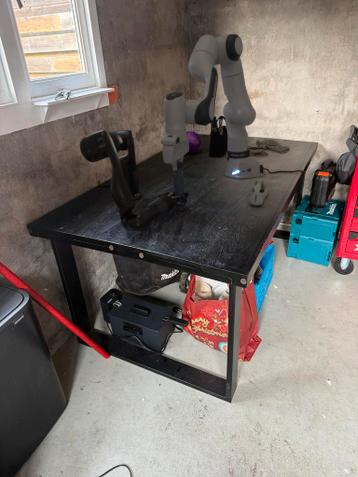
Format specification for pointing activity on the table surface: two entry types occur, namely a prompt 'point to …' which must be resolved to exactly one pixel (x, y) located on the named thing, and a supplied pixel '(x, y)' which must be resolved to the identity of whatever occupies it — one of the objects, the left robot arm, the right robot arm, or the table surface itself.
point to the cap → (179, 165)
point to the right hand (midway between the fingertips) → (177, 167)
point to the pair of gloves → (267, 144)
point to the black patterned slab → (218, 139)
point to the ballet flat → (258, 193)
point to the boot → (213, 124)
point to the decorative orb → (193, 141)
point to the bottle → (179, 186)
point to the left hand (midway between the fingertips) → (182, 193)
